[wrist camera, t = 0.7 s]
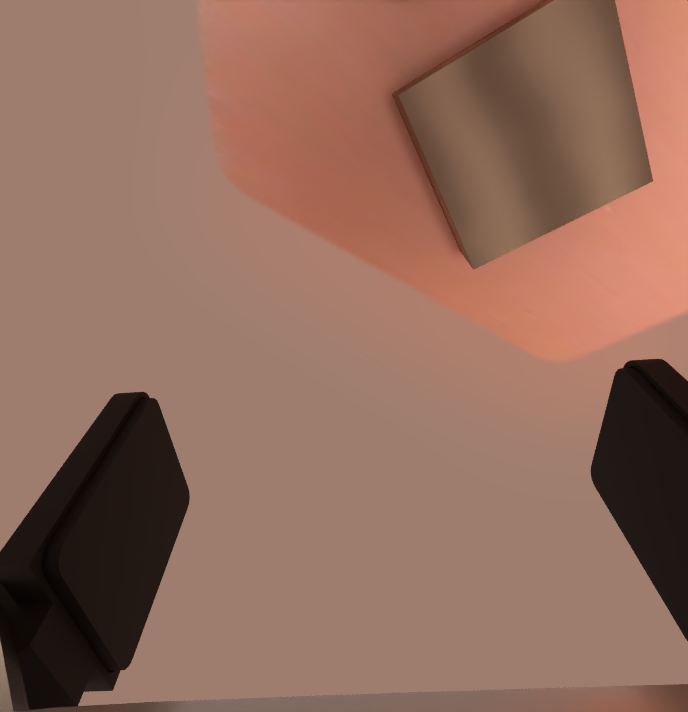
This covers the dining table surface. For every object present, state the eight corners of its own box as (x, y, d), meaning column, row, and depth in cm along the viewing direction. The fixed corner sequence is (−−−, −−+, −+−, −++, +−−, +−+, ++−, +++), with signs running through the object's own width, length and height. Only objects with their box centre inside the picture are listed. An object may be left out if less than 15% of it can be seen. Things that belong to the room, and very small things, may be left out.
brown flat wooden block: (574, -18, 28) (607, -33, 24) (620, 171, 33) (653, 181, 30) (391, 94, 31) (398, 94, 27) (460, 251, 36) (473, 269, 33)
